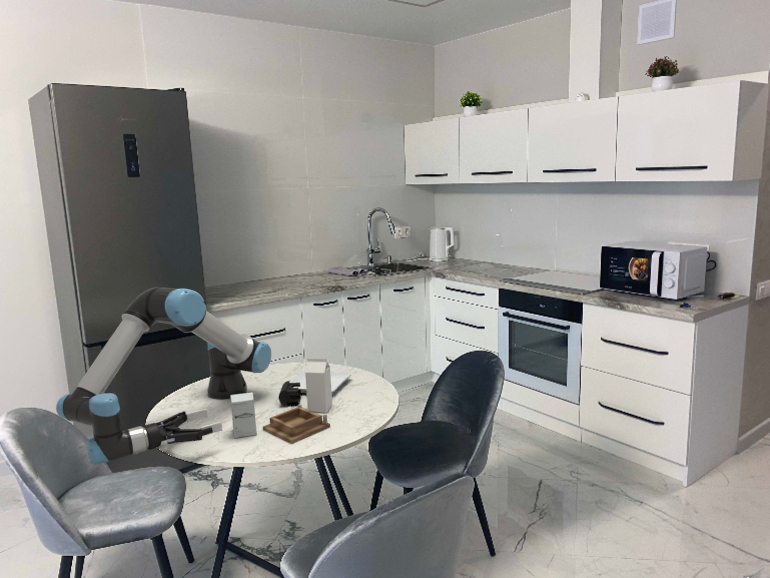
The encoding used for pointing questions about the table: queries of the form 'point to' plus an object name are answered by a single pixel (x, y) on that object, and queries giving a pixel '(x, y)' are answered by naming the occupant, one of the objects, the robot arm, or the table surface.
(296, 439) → the jig
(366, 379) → the table surface
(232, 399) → the supplement box
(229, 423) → the table surface
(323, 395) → the milk carton
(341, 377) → the salad plate
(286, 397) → the end cap
